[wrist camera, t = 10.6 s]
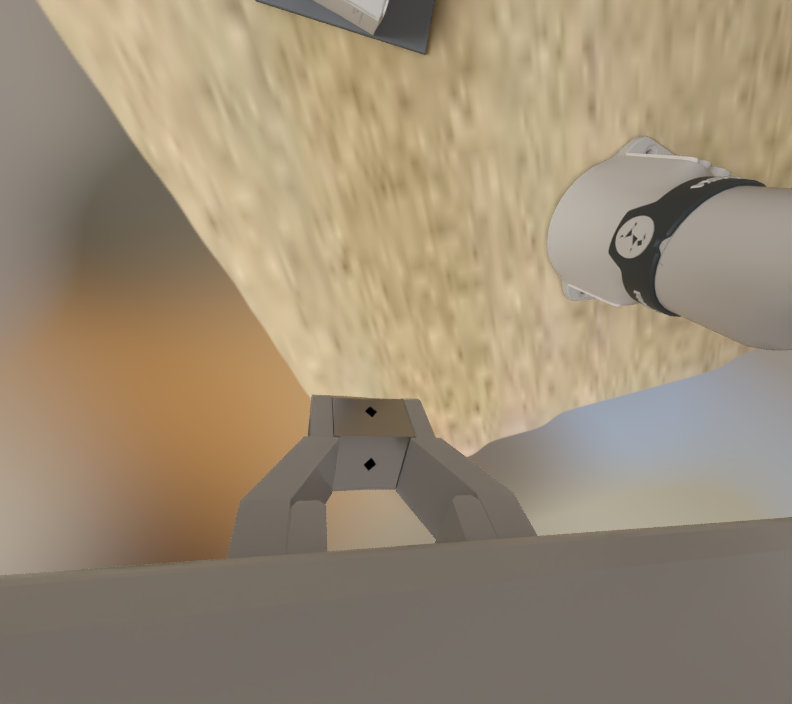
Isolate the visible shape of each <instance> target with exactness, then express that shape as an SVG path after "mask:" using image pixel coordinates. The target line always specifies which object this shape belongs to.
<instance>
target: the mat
mask: <svg viewBox="0 0 792 704" xmlns="http://www.w3.org/2000/svg"><path fill="white" fill-rule="evenodd" d="M256 1H257V2H260V3H264V4H267V5H270V6H273V7H276V8H279V9H282V10H286V11H289V12H292V13H295V14H298V15H301V16H304V17H308V18H311V19H314V20H317V21H320V22H323V23H326V24H330V25H333V26H336V27H339V28H342V29H345V30H348V31H352V32H355V33H358V34H361V35H364V36H367V37H371V38H374V39H377V40H380V41H383V42H386V43H389V44H393V45H396V46H399V47H402V48H405V49H408V50H411V51H415V52H418V53H421V54H425V51H426V45H427V40H428V34H429V29H430V23H431V18H432V12H433V7H434V2H435V0H389V3H388V6H387V9H386V12H385V15H384V17H383V19H382V21H381V23H380V24H379V26H378V27H377V29H376V30H375V32H374V35H372V34H370V33H368V32H367V31H365V30H363V29H361V28H360V27H358V26H356V25H355V24H353V23H351V22H350V21H348V20H346V19H344V18H343V17H341V16H339V15H338V14H336V13H334V12H332V11H331V10H329V9H327V8H325V7H324V6H322V5H320V4H319V3H317V2H315V1H313V0H256Z"/></svg>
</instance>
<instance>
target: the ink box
mask: <svg viewBox="0 0 792 704" xmlns="http://www.w3.org/2000/svg"><path fill="white" fill-rule="evenodd" d="M313 1H315V2H317V3H319V4H320V5H322V6H324V7H325V8H327V9H329V10H331V11H332V12H334V13H336V14H338V15H339V16H341V17H343V18H344V19H346V20H348V21H350V22H351V23H353V24H355V25H356V26H358V27H360V28H361V29H363V30H365V31H367V32H368V33H370V34H372V35H374V32H375V30H376V29H377V27H378V26H379V24H380V23H381V21H382V19H383V17H384V15H385V12H386V9H387V6H388V3H389V0H313Z"/></svg>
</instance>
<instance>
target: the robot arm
mask: <svg viewBox="0 0 792 704" xmlns="http://www.w3.org/2000/svg"><path fill="white" fill-rule="evenodd" d="M646 152H647V154H646ZM710 166H711V163H710V162H708V161H705V160H698V159H697V158H695V157H688V156H676V155H674V154H673V153H672V152H670V151H669V150H667V149H666V148H664V147H663V146H662V145H660V144H659V143H657V142H656V141H654V140H653V139H652V138H650V137H646V136H637V137H635V138H634V139H632V140H631V141H630V142H629V143H627V144H626V145H625V146H624V147H623V148H622V149H621V150H620V151H619V152H618V153H617V154H616V155H615V156H613V157H612V158H610V159H608V160H606V161H604V162H602V163H600V164H598V165H596V166H594V167H592V168H591V169H589V170H588V171H586V172H585V173H584V174H582V175H581V176H580V177H579V178H578V179H577V180H576V181H575V182H574V183H573V184H572V185H571V186H570V187H569V189H568V190H567V191H566V192H565V194H564V195H563V197H562V198H561V200H560V202H559V204H558V205H557V207H556V209H555V212H554V214H553V217H552V219H551V223H550V226H549V231H548V239H547V248H548V255H549V259H550V261H551V264H552V266H553V268H554V269H555V271H556V272H557V273H558V275H559V276H560V278H561V280H562V288H563V293H564V296H565V297H566V298H568V299H570V300H573V301H577V300H590V299H599V300H601V301H603V302H605V303H608V304H610V305H612V306H615V307H620V306H622V305H633V304H639V303H641V304H642V305H644V306H646V307H647V308H649V309H651V310H654V311H656V312H659V313H664V314H666V315H669V316H678V317H681V316H682V317H684V318H686V319H688V320H691V321H693V322H695V323H697V324H699V325H701V326H704V327H706V328H708V329H710V330H712V331H715V332H717V333H719V334H721V335H723V336H726V337H728V338H730V339H732V340H734V341H737V342H739V343H741V344H743V345H746V346H749V347H754V348H760V349H766V350H792V188H775V187H766V186H765V185H764V184H762V183H760V182H758V181H755V180H747V179H743V178H741V177H733V176H730V174H731V172H730V171H728V170H726V169H723V168H719V167H710ZM363 489H396V492H397V493H398V494H399V495H400V496H401V498H402V499H403V500H404V501H405V503H406V504H407V505H408V506H409V508H410V509H411V510H412V511H413V512H414V514H415V515H416V516H417V517H418V518H419V520H420V521H421V522H422V523H423V524H424V526H425V527H426V528H427V529H428V530H429V532H430V533H431V534H432V535H433V536H434V538H435V539H436V542H435V544H421V545H408V546H395V547H382V548H368V549H354V550H339V551H327V528H326V505H325V504H326V502H327V500H328V499H329V497H330V496H331V494H332V491H346V490H363ZM0 704H792V517H788V518H776V519H762V520H750V521H736V522H723V523H710V524H695V525H681V526H667V527H654V528H640V529H626V530H613V531H601V532H600V531H599V532H586V533H572V534H558V535H546V536H537V534H536V532H535V530H534V529H533V527H532V525H531V523H530V521H529V520H528V518H527V516H526V514H525V513H524V511H523V510H522V508H521V506H520V504H519V502H518V500H517V499H516V497H515V495H514V493H513V492H512V491H510V490H509V489H508V488H506V487H505V486H504V485H502V484H501V483H500V482H499V481H497V480H496V479H494V478H493V477H492V476H491V475H489V474H488V473H487V472H485V471H484V470H482V469H481V468H480V467H479V466H477V465H476V464H475V463H473V462H472V461H471V460H469V459H468V458H467V457H465V456H464V455H463V454H461V453H460V452H459V451H457V450H456V449H455V448H453V447H452V446H451V445H449V444H448V443H447V442H445V441H444V440H443V439H441V438H436V437H435V435H434V432H433V430H432V427H431V425H430V423H429V420H428V418H427V415H426V413H425V411H424V408H423V406H422V403H421V401H420V400H419V399H380V398H364V397H348V396H330V395H312V398H311V407H310V418H309V426H308V436H307V437H306V436H305V437H303V438H302V440H301V441H300V442H299V443H298V444H297V445H296V446H295V447H294V448H293V449H292V450H291V451H290V452H289V453H288V454H287V455H286V456H285V457H284V458H283V459H282V460H281V461H280V462H279V463H278V464H277V465H276V466H275V467H274V468H273V469H272V470H271V471H270V472H269V473H268V474H267V475H266V476H265V477H264V478H263V479H262V480H261V481H260V482H259V483H258V484H257V485H256V486H255V487H254V488H253V489H252V490H251V491H250V492H249V493H248V494H247V495H246V496H245V497H244V498H243V499H242V500H241V501H240V505H239V509H238V513H237V518H236V522H235V526H234V530H233V535H232V539H231V543H230V547H229V552H228V556H227V559H217V560H203V561H189V562H176V563H162V564H149V565H136V566H121V567H108V568H94V569H81V570H67V571H53V572H40V573H28V574H27V573H26V574H12V575H0Z"/></svg>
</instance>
